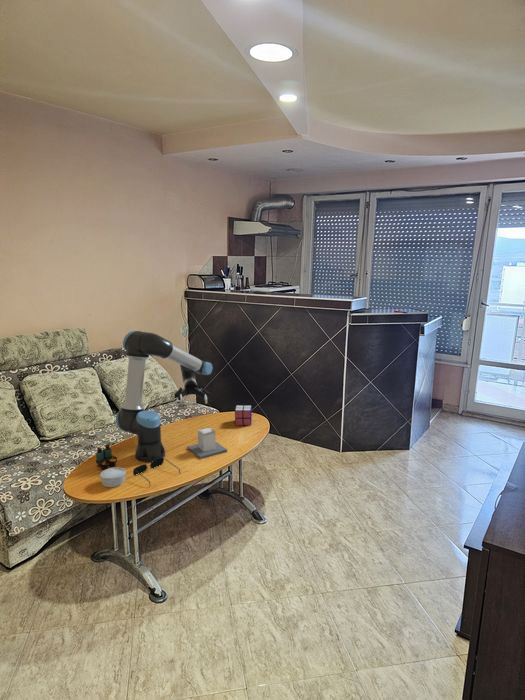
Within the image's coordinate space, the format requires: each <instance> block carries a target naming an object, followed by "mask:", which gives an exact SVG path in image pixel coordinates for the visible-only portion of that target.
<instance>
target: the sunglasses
mask: <svg viewBox="0 0 525 700" xmlns="http://www.w3.org/2000/svg"><path fill="white" fill-rule="evenodd" d="M164 461H167V462H168V463H170V465H171V466H173V467H175V468H176V469H178V472H179V474H181V469H180V468H179V467H178V466H176V464H175V465H174V464H173V463H172V462H170V461H169V460H168V459H166V458H164V457H163V458H158V459H157V460H154V461H153V462H150V464H148V465H147V464H146V463H144V464H141V465H140V464H139V465H138V466H136V467H134V468H133V471H132V472H133V475H134V476H137V475H136V474H138V473H139V474H138V475H140V476H141V477H142V478H144V479H145V480H146V481H147V482H148V484H149V487H150V486H152V485H151V482H150V480H149V479H148V478H146V477H145V476H144V475H143V474H142V473H141V472H143V471H145V472H146V471H147V470H149V469H151V468H153V469H155V468H154V467H156V466H158V467H160V466H159V465H161V466H162V465H163V464H164ZM149 467H150V468H149ZM156 468H157V467H156ZM140 473H141V474H140ZM143 473H144V472H143Z"/></svg>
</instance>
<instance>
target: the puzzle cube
mask: <svg viewBox="0 0 525 700" xmlns="http://www.w3.org/2000/svg"><path fill="white" fill-rule="evenodd" d="M252 407H253V406H252V405H236V406H235V409H234V425H235V426H236V425H251V426H252V419H253V415H252V412H253V411H252V410H253V409H252Z"/></svg>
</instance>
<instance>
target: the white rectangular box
mask: <svg viewBox="0 0 525 700" xmlns="http://www.w3.org/2000/svg"><path fill="white" fill-rule="evenodd" d="M215 441H216V430H214V429H213V428H211V427H209V426H208V427H205V428H199V429H197V444H198V447H199V448H200V449H201V450H202V451H203V452H205V451H209V450H213V449H216V445H215Z"/></svg>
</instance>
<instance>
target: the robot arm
mask: <svg viewBox="0 0 525 700" xmlns="http://www.w3.org/2000/svg"><path fill="white" fill-rule="evenodd" d="M122 345H123V348H124V351H126V353H125V354H126V357H127V358H128V363H127V364H128V365H127V366H128V367H127V375H126V376H127V377H126V387H125V397H124V404H123V405H121V408H120V410H119V411H118V412H117V413H116V416H115V424H116V426H117V428H119V429H120V430H121V431H123V432H127V433H129V434H133V435H136V436H137V447H136V449H135V460H136V461H138V462H142V463H151V462H152V461H154V460H157V459H158V458H163V459H164V457H166V450H165V447H164V444H163V442H162V430H161V428H162V426H161V421H162V420H161V417H160V414H159V413H158V412H157V411H153V410H148V409H147V410H145V408H144V406H143V404H142V401H143V390H144V379H145V373H146V372H145V371H146V361H147V359H149V358H150V356H153V357H154V356H155V357H159V358H161V359H168V360H170V361H172V362H174V363H176V364H178V365H179V366H180V371H181V377H182V382H183V386H184V388H183V387H179V389H178V390H177V391H176V392H175V393H174V399H177V400H178V401H179V402H180V404H181V405H182V404H183V397H185V396H188V395H195V396H199V397H202V398H204V402H205V405H207V404H208V401H209V399H211V398H212V397H211V396H212V393H211V392H209V390H208V391H207V390H206V389H205V388H204V387H201V388H199V387H198V383H197V381H196V380H197V378H196V374H198V375H203V376H209V375H211V374H212V371H213V364H212V363H211V362H208V361H203V360H201V359H199V358H198V357H196V356H194V355H192V354H190V353H188V352H186V351H184V350H183V349H181V348H179V347H177V346H175V345H174V344H173V342H171V340H168V339H166V338H164V337H162V336H160V335H159V334H156V333H154V332H148V331H140V330H132V331H129V332H128V333H126V334H125V335H124V338H123V340H122Z"/></svg>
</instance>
